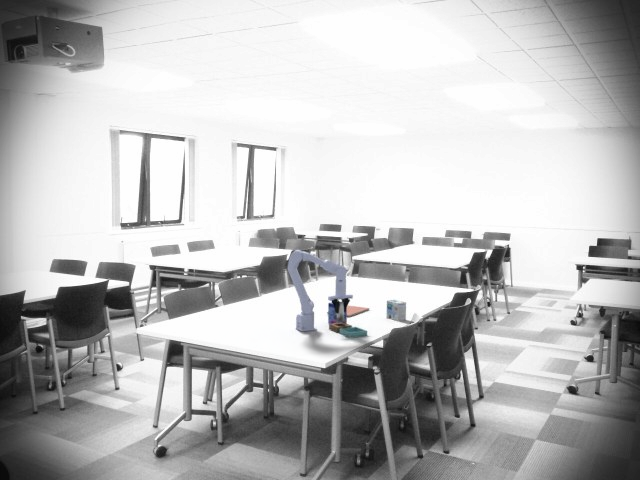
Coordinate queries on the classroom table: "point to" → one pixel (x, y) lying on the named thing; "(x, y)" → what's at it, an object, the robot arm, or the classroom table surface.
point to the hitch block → (338, 326)
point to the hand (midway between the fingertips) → (340, 312)
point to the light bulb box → (396, 310)
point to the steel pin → (340, 312)
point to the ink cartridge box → (334, 315)
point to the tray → (353, 332)
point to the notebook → (355, 310)
